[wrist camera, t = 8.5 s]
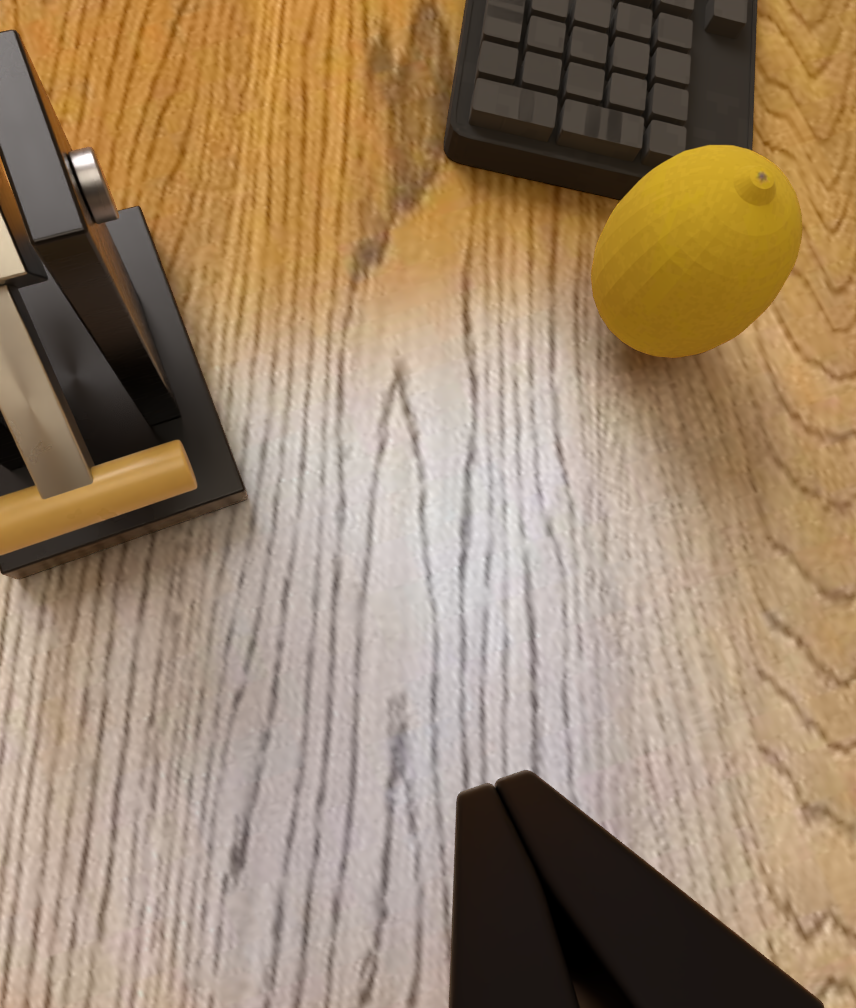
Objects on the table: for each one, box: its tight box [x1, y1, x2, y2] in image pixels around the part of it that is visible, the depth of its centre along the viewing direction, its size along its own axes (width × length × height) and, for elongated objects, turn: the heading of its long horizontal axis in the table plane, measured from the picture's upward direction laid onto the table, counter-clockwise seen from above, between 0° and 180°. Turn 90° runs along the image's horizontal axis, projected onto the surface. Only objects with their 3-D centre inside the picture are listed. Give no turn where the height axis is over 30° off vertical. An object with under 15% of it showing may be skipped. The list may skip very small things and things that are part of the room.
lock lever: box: [0, 164, 197, 556], centre depth 15 cm, size 8×5×2 cm, turn 22°
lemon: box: [591, 145, 802, 358], centre depth 23 cm, size 6×6×8 cm
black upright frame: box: [0, 30, 248, 579], centre depth 18 cm, size 10×7×11 cm
